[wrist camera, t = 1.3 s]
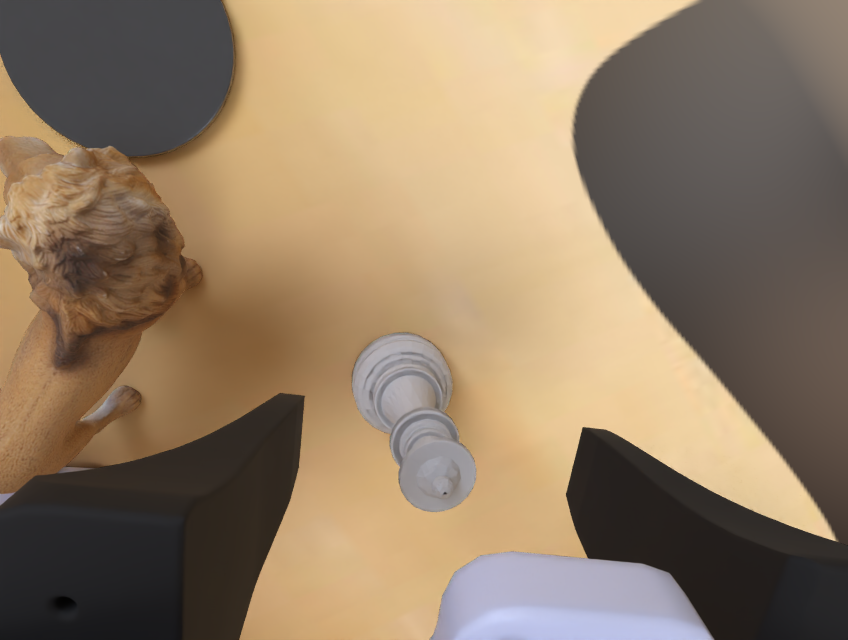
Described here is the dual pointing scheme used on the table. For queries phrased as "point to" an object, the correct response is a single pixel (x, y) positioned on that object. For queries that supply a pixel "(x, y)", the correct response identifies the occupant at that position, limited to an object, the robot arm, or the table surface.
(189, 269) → the lion figurine
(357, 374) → the chess piece
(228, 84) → the coaster
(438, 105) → the table surface
